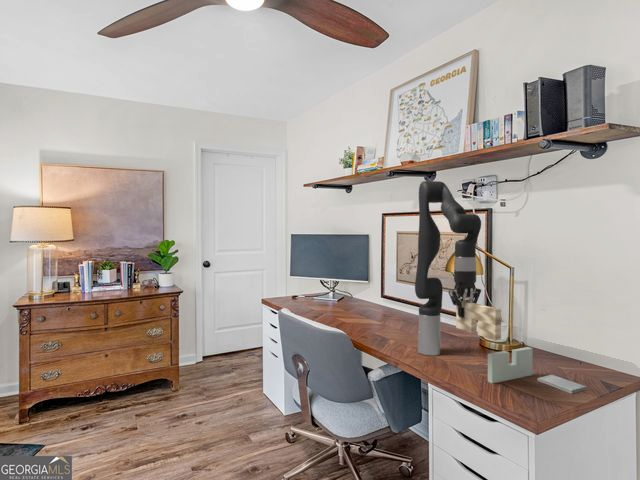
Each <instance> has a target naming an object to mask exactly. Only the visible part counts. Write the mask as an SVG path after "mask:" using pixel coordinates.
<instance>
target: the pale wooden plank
mask: <svg viewBox="0 0 640 480" xmlns="http://www.w3.org/2000/svg"><path fill="white" fill-rule="evenodd" d="M455 306H456V305H455ZM455 312H456V313H455V317H456V318H455V328H456V329H459V330H462V331H464V332H468V333H471V334H473V333H477V335H478V336H479V337H480V336H481V337H484V338H487V339H490V340H493V341H500V340H502V309H501V308H497V307H492V306H487V305H485V304H479V303H477V304H476V303H471V302H467V301H465V304H464V318H461V317H459V316H458V306H456V307H455Z"/></svg>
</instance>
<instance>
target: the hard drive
mask: <svg viewBox="0 0 640 480" xmlns="http://www.w3.org/2000/svg"><path fill="white" fill-rule="evenodd" d="M537 382H540V383H543V384H546V385H548V386H551V387H553V388H556V389H559V390H561V391H563V392H566V393H568V394H575V393H579V392H583V391H587V390H588V386H586V385H583V384H580V383H577V382H574V381H572V380H568V379H565V378H562V377H560V376H557V375H554V374H548V375H545V376H540V377H538V378H537Z"/></svg>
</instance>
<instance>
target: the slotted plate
mask: <svg viewBox="0 0 640 480" xmlns="http://www.w3.org/2000/svg"><path fill="white" fill-rule="evenodd" d="M533 349H534V348H532V347H530V346H526V347H520V348H516V349H511V362H510V352H509V351H506V350H502V351H497V352H490V353H487V382H488V383H490V384H497V383H501V382H506V381H509V380H516V379H521V378H526V377H530V376H533V357H534V356H533V355H534V354H533Z"/></svg>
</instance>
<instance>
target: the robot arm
mask: <svg viewBox="0 0 640 480" xmlns="http://www.w3.org/2000/svg"><path fill="white" fill-rule="evenodd" d="M438 203H441V205H440V211H441V213H442V215H443V216H444V217H445V219H446V220H447V221H448V225H449V228H450V230H451V232H452V233H455V234H466V236H465V237H464V239H461V240H457V241H455V242H454V243H455V244H454V262H453V273H454V274H453V281H454V283H455V285H454V286H453V287H454V288H453V289H451V290H448V292H447V293H448V295H449V298H450V300H451V302H452V305H453V306H458V316H459V317H461V318H464V304H465V301H467V302H471V303H476V304H478V301H479V298H480V295H481V293H482V289H481V288H477V287H476V282H477V259H476V258H477V257H476V253H477V252H476V251H477V250H476V249H477V248H476V246H477V242H478V238H479V234H480V231H481V228H482V220H481V218H480V216H479V215H478V214H476V213H467V211H466V210H465V208H464V207H463V206H462V205H461V204H459V202H458V201H456V199H455V198H454V196H453V195H452V192H451V191H450V189H449V187H448V186H447V184H446V183H444V182H443V181H436V180H434V181H432V180H423V181H421V182H420V184H419V187H418V215H419V221H418V237H417V238H418V239H417V240H418V241H417V264H416V272H415V273H416V274H415V281H414V293H415V295H416V297H417V298H418V299H419V300H428V301H426V303H424V304H422V305H420V306H419V307H418V331H417V353H418V354H421V355H425V356H433V357H434V356H439V355H441V311H442V309H443V308H442V307H443V291H444V290H443V283H442V280H441V279H440V278H439V277H428V276H429V275H428V274H429V269H430V266H431V265H432V263H433V262H434V260H435V258H436V256H437V255H438V253H439V251H440V248H441V231H440V229H439V228H438V225H437V224H436V222H435V221H434V219H433V217H432V215H431V210H430V204H438Z"/></svg>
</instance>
